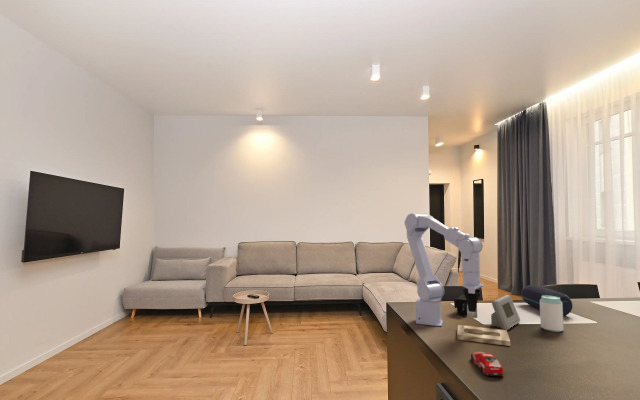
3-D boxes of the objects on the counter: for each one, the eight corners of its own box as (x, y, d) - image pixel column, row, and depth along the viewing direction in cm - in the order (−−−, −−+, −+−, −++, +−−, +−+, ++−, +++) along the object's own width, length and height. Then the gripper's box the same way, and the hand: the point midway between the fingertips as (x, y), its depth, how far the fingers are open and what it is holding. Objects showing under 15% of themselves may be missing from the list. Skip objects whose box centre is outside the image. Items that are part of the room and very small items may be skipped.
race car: (469, 358, 101) (468, 344, 101) (488, 359, 100) (487, 345, 100) (484, 378, 88) (483, 362, 88) (506, 379, 87) (505, 363, 87)
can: (539, 329, 126) (537, 297, 127) (542, 325, 131) (541, 294, 132) (562, 334, 121) (560, 300, 122) (565, 329, 126) (563, 296, 127)
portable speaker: (578, 318, 140) (577, 294, 141) (554, 318, 140) (553, 294, 141) (539, 304, 165) (538, 283, 166) (518, 304, 165) (518, 283, 166)
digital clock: (506, 332, 123) (505, 302, 124) (482, 326, 131) (481, 298, 131) (528, 325, 132) (527, 297, 133) (505, 319, 139) (504, 293, 140)
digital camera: (459, 309, 155) (458, 294, 156) (472, 311, 152) (471, 295, 153) (454, 314, 147) (453, 298, 147) (467, 316, 144) (467, 299, 144)
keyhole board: (457, 339, 116) (457, 334, 116) (458, 328, 127) (458, 324, 127) (510, 346, 110) (510, 341, 110) (506, 334, 121) (506, 330, 121)
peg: (467, 317, 119) (467, 295, 119) (467, 315, 122) (466, 293, 122) (477, 318, 118) (477, 296, 118) (476, 316, 121) (476, 294, 121)
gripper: (484, 275, 113) (485, 316, 112) (482, 269, 126) (483, 306, 125) (461, 273, 116) (462, 314, 115) (462, 268, 129) (463, 304, 128)
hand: (472, 310), depth 120 cm, fingers closed on peg, 3 cm apart
